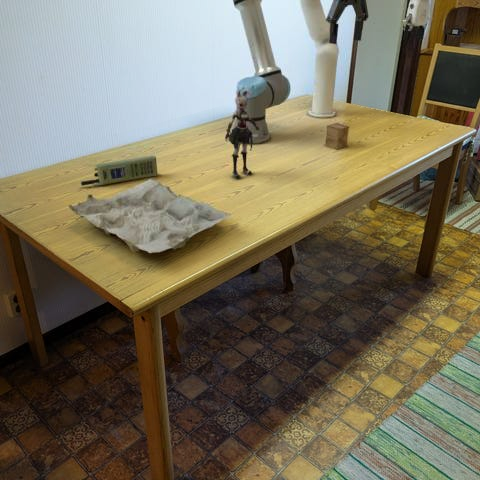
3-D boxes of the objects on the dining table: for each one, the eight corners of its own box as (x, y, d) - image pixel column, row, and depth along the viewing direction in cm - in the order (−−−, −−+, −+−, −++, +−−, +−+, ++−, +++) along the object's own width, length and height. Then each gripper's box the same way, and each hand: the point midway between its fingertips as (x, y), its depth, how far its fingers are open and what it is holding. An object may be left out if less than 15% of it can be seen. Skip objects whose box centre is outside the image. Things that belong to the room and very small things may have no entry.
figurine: (229, 182, 166) (230, 89, 151) (218, 177, 170) (217, 86, 155) (261, 171, 175) (264, 82, 160) (249, 166, 178) (251, 79, 164)
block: (336, 149, 196) (339, 128, 192) (325, 145, 200) (327, 125, 196) (346, 146, 199) (349, 126, 195) (335, 142, 203) (337, 122, 199)
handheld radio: (158, 176, 170) (83, 189, 160) (155, 173, 172) (80, 186, 162) (156, 157, 167) (79, 169, 157) (153, 154, 169) (77, 166, 159)
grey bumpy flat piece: (148, 192, 160) (63, 221, 139) (147, 174, 157) (60, 201, 136) (236, 233, 139) (152, 274, 118) (238, 213, 136) (151, 251, 115)
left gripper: (337, -25, 160) (330, 46, 171) (384, -26, 174) (375, 40, 185) (319, -26, 165) (313, 43, 176) (366, -27, 179) (358, 37, 190)
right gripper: (416, -4, 200) (408, 42, 208) (440, -5, 210) (432, 39, 218) (400, -5, 205) (393, 40, 213) (424, -6, 215) (416, 37, 223)
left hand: (345, 42), depth 180 cm, fingers open, 13 cm apart
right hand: (412, 39), depth 216 cm, fingers open, 9 cm apart
